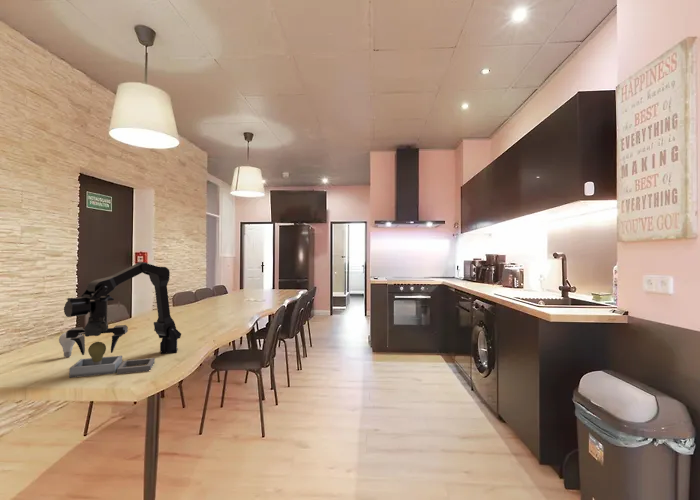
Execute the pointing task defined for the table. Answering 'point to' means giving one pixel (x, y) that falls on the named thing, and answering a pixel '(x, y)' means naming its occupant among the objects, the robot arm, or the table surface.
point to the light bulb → (97, 352)
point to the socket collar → (123, 369)
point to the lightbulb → (66, 344)
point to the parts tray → (95, 367)
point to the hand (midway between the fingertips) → (97, 353)
